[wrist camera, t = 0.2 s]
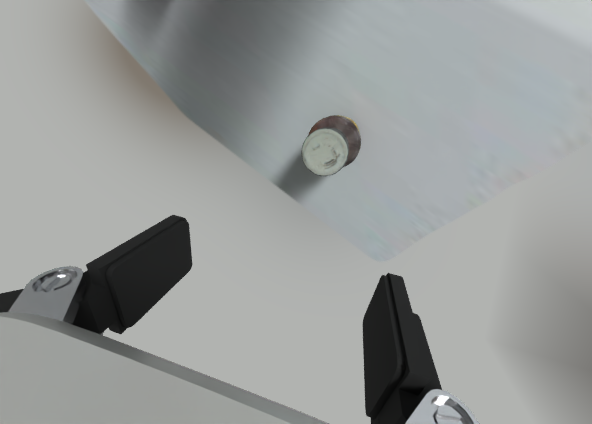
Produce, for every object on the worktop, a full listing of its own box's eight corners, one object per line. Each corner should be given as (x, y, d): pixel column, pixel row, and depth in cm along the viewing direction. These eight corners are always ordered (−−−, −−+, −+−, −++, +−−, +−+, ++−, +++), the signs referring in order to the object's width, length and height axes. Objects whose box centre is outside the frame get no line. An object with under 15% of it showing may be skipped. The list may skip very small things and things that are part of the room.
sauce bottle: (358, 155, 37) (361, 196, 19) (321, 155, 39) (292, 195, 21) (360, 112, 34) (365, 115, 17) (320, 114, 36) (286, 120, 18)
